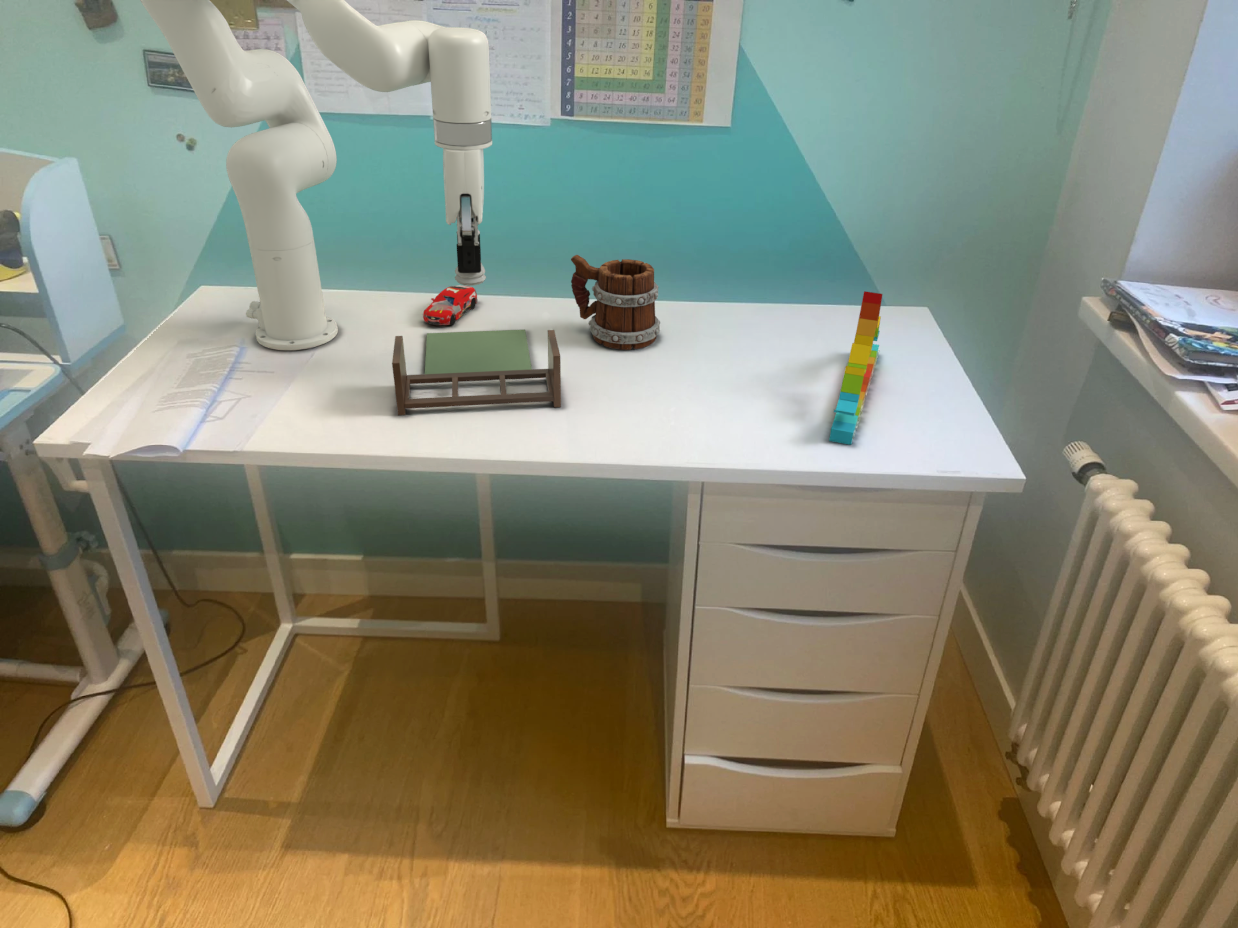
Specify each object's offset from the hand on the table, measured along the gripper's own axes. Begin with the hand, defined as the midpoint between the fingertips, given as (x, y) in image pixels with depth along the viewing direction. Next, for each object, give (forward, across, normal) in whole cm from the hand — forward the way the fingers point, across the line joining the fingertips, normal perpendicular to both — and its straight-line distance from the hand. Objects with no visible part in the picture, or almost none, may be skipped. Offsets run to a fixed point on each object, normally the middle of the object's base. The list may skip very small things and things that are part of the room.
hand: (469, 265), depth 130 cm
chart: (+16, +12, +56) cm, 59 cm away
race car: (+17, -23, -4) cm, 29 cm away
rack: (+17, +8, +1) cm, 19 cm away
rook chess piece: (+2, 0, 0) cm, 2 cm away
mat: (+17, -6, 0) cm, 18 cm away
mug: (+17, -12, +23) cm, 31 cm away
